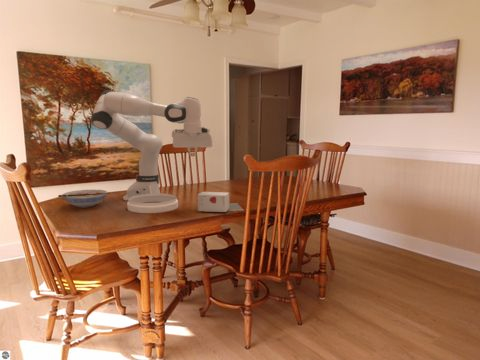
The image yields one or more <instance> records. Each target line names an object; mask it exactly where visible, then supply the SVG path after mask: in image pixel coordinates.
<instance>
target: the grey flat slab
mask: <svg viewBox="0 0 480 360" xmlns="http://www.w3.org/2000/svg"><path fill="white" fill-rule="evenodd" d="M243 211H245V210H244V209H243V208H242V206H241V205H240V204H239V203H238V202H236V203H235V202H234V203H229V209H228V210H227V211H226V212H243ZM204 212H205V213H211V212H210V211H204ZM226 212H225V213H226Z"/></svg>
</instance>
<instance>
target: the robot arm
mask: <svg viewBox="0 0 480 360" xmlns="http://www.w3.org/2000/svg"><path fill="white" fill-rule="evenodd" d="M201 109H202V108H201V103H200V101H199V99H198V98H195V97H190V96H185V97H184V98H182V99H181V100H179V101H177V102H174V103H171V104H168V105H166V104H160V103H157V102H156V103H154V102H152V101H149V100H147V99H145V98H142V97H141V96H138V95H135V94H131V93H127V92H121V91H120V92H119V91H113V90H109V89H105V90H104V91H102V92H101V94H100V96H99V98H98V100H97V101H96V103H95V106H94V109H93V112H92V114H91V117H90V122H91V124H92V125H93V126H94V127H96V128H98V129H99V130H100V129H101V130H107V131H108V132H109V133H111V134H112V135H114V136H116V137H118V138H120V139H121V140H123V141H124V142H126V143H128V144H129V145H130V146H132V147H133V148H135V149H137V150H138V151H140V152H141V155H140V159H139V161H138V173H139V174H136V176H135V181H134V182H133V183H132V184H131V185H130V186H128V188H127V189H126V194H125V195H123V197H122V199H123V200H124V201H129V198H130V197H132V196H136V195H141V194H153V193H161V191H160V176H159V165H158V164H159V157H160V152H161V150H162V148H163V141H162V139H161V138H160V137H159V136H158V135H156V134H153V133H146V132H145V131H144V130H142V129H141V128H139V127H138V126H137V124H135V123H133V122H131V121H130V120H128V119H127V118H125V117H123V115H124V116H128V117H130V116H132V117H133V116H134V117H137V116H155V117H156V116H157V117H163V118H165V119H166V120H167V121H169V122H170V123H175V124H183V129H174V130H172V132H171V137H172V147H173V148H180V149H181V148H182V149H183V148H187V151H188V153H189V157H197V156H196V153H197V152H198V148H212V147H213V140H212V134H210V128H208V127H204V126H202V123H201V116H202V111H201ZM121 115H122V116H121ZM191 148H194V151H193V152H191Z"/></svg>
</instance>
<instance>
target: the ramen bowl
mask: <svg viewBox="0 0 480 360" xmlns="http://www.w3.org/2000/svg"><path fill="white" fill-rule="evenodd" d="M108 194H111V193H109V192H108V191H107V190H103V189H79V190H77V189H76V190H72V191H68V192H64V193H62V194H59V195H57V196H58V198H64V199H65V200H66V202H67V203H68V204H70V205H72V206H73V207H78V208H79V209H80V208H84V209H85V208H92V207H94V206H96V205H98V204H100V203H101V202H102V201H104V199H105V198H106V196H107V195H108Z"/></svg>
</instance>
